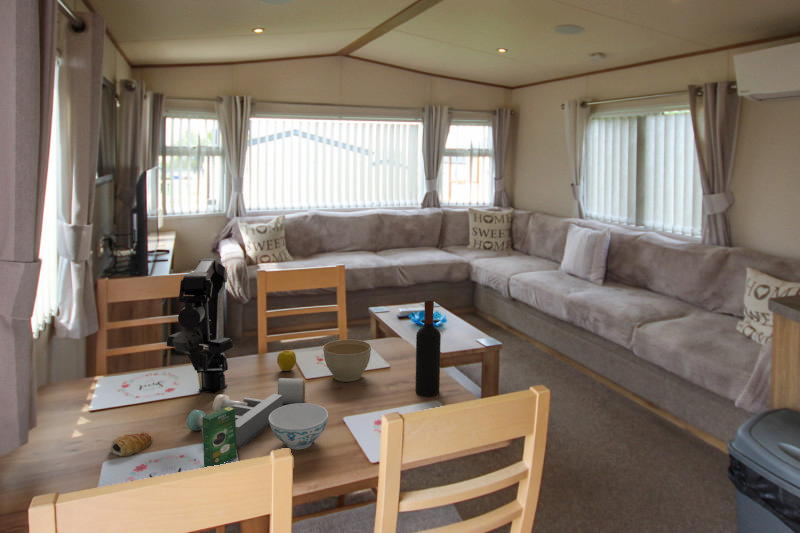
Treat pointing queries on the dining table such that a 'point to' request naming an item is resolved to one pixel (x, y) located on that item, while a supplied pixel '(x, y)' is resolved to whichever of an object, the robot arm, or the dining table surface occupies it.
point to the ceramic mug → (291, 390)
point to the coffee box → (219, 436)
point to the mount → (254, 417)
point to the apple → (286, 360)
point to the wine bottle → (428, 355)
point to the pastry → (130, 444)
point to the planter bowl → (347, 358)
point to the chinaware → (298, 424)
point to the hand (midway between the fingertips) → (200, 370)
